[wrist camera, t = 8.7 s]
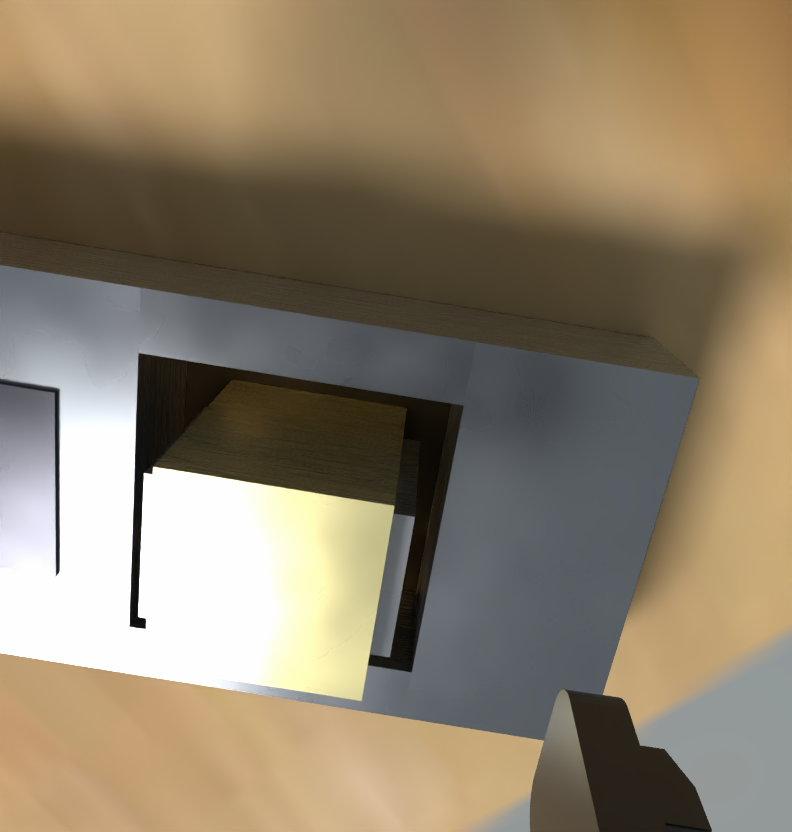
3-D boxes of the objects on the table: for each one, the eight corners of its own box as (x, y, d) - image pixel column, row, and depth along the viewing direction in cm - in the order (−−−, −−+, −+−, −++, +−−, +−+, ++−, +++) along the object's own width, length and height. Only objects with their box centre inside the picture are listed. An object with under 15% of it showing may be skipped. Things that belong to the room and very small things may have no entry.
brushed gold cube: (215, 375, 17) (129, 463, 12) (424, 409, 17) (418, 509, 12) (204, 530, 18) (122, 662, 13) (397, 561, 18) (382, 704, 13)
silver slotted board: (-360, 173, 16) (-540, 178, 13) (653, 338, 16) (701, 379, 13) (-295, 518, 19) (-430, 586, 16) (564, 657, 19) (587, 751, 16)
